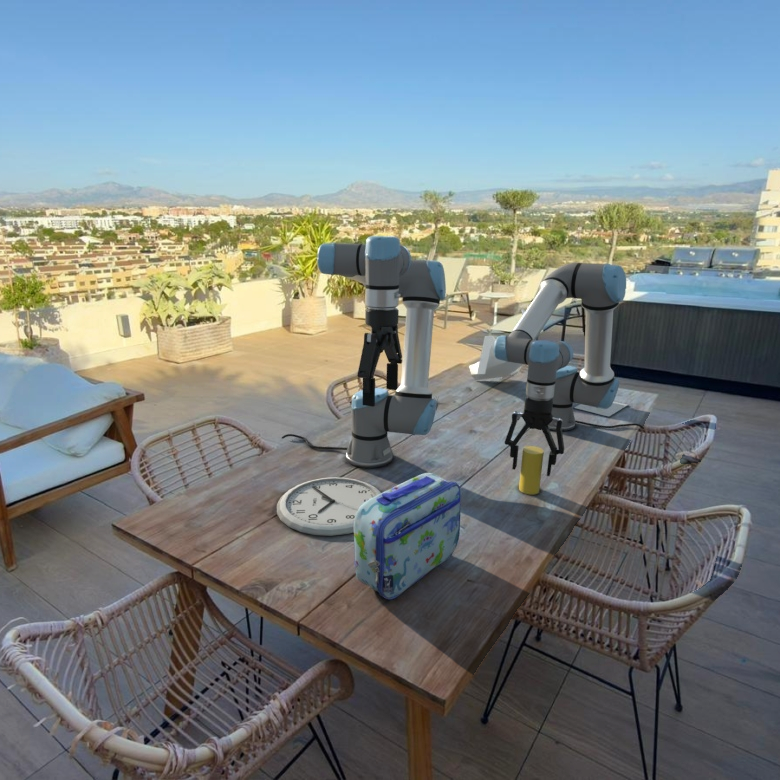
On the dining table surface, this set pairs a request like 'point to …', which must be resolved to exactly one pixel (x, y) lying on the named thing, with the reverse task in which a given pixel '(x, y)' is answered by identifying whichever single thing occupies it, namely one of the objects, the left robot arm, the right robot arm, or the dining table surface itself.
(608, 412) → the invitation card
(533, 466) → the can
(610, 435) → the dining table surface
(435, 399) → the fork
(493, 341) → the white plastic object
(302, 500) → the wall clock
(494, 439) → the dining table surface
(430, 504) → the lunch box
